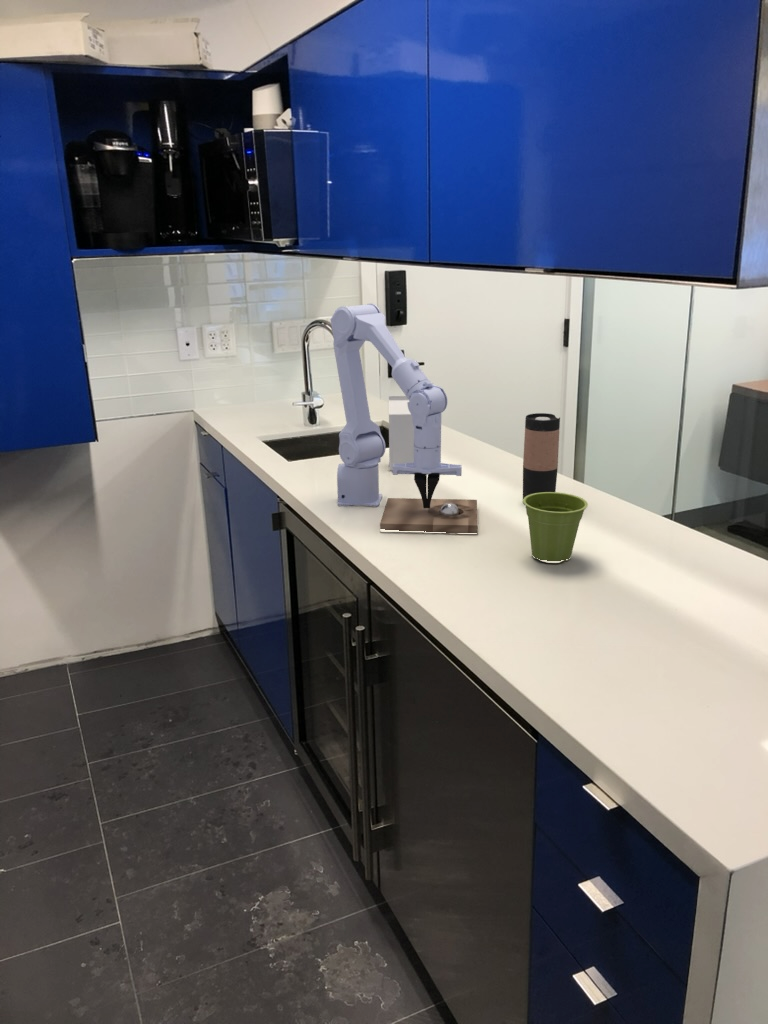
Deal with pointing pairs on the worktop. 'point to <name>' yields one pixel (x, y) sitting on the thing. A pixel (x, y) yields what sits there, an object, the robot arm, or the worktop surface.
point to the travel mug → (540, 453)
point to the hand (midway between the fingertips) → (426, 506)
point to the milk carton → (400, 432)
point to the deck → (429, 516)
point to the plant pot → (553, 523)
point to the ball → (449, 509)
